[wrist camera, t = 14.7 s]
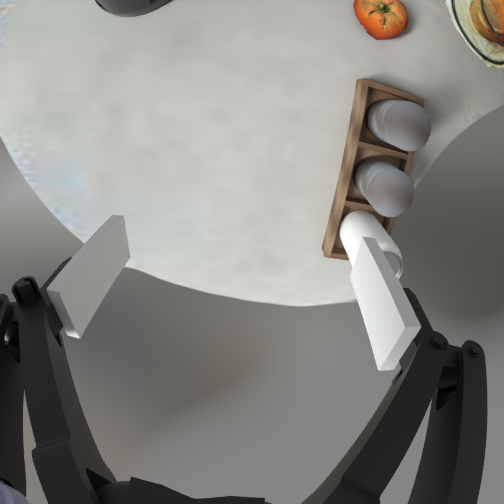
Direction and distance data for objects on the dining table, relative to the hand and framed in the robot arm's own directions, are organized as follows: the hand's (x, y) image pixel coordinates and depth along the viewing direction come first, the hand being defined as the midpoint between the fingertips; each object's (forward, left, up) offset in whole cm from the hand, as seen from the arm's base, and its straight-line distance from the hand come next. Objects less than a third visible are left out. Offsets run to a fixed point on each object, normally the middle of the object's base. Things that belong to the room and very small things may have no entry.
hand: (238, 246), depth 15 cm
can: (+9, +17, -26) cm, 32 cm away
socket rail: (0, +17, -27) cm, 32 cm away
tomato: (-24, +14, -27) cm, 39 cm away
